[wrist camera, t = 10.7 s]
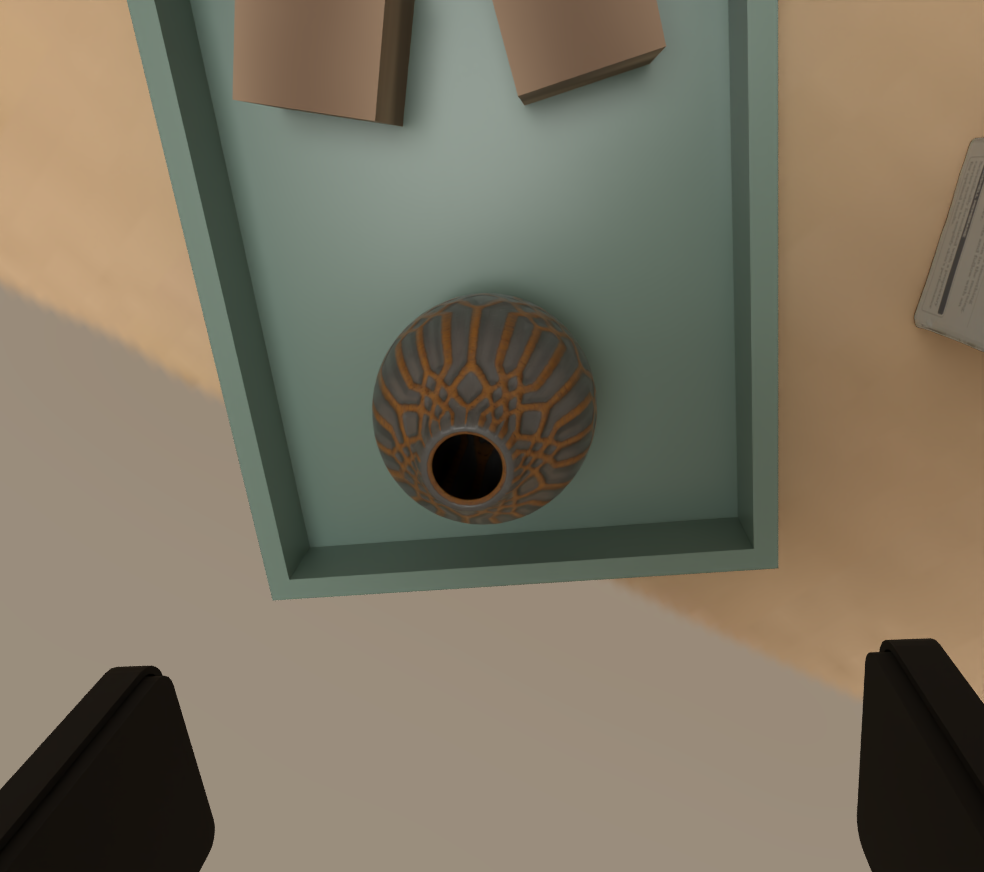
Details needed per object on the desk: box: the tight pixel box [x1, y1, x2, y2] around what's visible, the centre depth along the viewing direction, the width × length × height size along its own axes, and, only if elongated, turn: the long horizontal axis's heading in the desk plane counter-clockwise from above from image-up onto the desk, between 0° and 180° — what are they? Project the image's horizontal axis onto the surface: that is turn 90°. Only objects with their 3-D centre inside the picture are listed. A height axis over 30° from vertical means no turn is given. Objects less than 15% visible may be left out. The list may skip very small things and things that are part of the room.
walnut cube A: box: [492, 0, 666, 106], centre depth 22 cm, size 4×4×4 cm
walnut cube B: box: [233, 0, 415, 127], centre depth 23 cm, size 4×4×4 cm
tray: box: [127, 0, 778, 600], centre depth 26 cm, size 18×22×3 cm
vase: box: [372, 293, 597, 525], centre depth 24 cm, size 7×7×9 cm
